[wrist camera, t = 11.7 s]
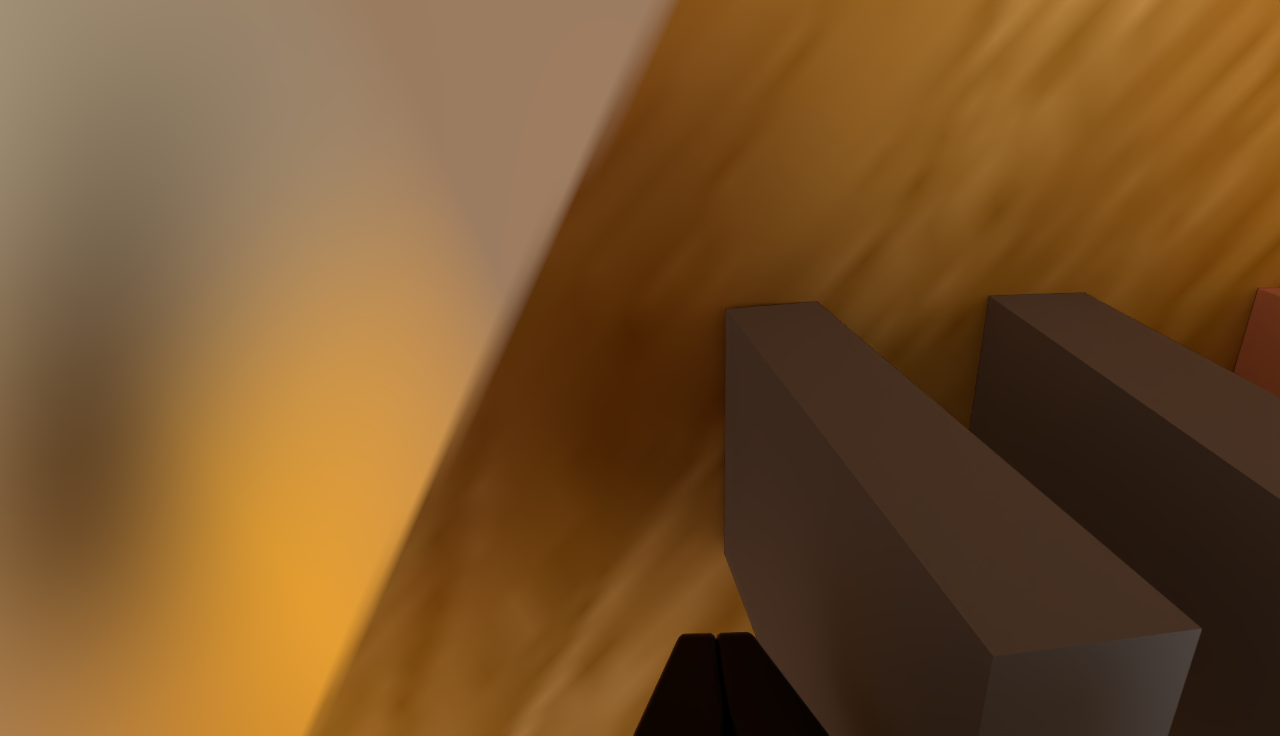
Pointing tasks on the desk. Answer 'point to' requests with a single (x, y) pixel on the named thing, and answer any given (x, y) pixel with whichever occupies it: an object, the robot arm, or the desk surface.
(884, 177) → the desk surface
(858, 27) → the desk surface
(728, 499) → the domino
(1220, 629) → the domino
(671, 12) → the desk surface
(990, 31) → the desk surface
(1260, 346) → the domino
